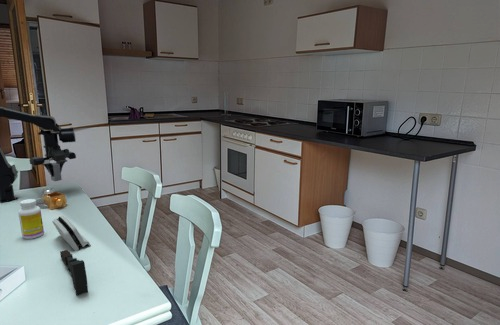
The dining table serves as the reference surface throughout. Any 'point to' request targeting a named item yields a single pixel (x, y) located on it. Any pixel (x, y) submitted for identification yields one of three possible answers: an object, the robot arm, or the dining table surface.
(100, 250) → the dining table surface
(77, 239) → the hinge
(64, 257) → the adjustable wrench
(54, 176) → the tall grey box
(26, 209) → the supplement bottle
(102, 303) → the dining table surface
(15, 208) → the dining table surface
